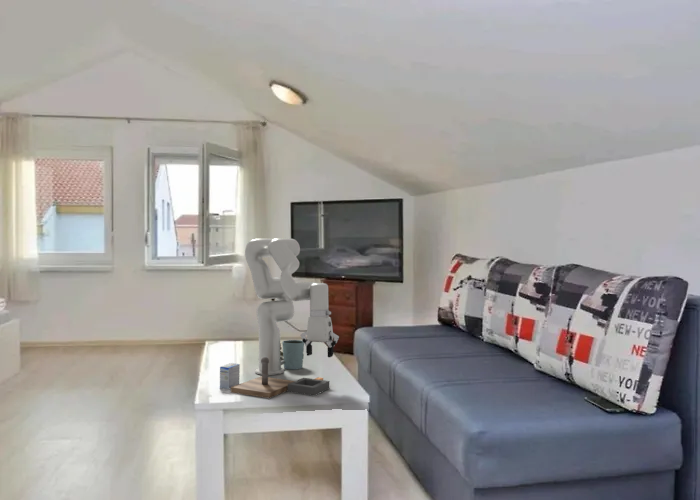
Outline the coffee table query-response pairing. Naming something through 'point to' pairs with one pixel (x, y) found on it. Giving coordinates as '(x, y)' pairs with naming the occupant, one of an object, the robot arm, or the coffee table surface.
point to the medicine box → (229, 375)
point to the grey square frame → (308, 386)
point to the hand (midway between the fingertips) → (319, 355)
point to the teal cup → (293, 354)
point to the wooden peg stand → (262, 384)
